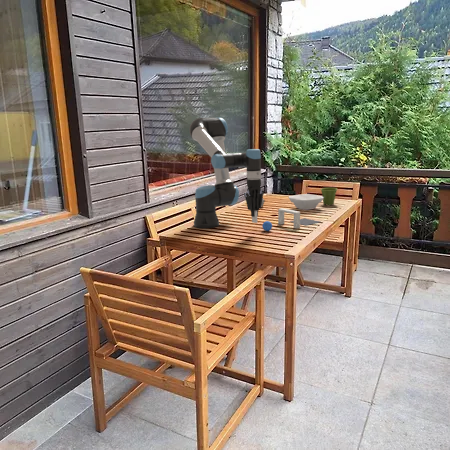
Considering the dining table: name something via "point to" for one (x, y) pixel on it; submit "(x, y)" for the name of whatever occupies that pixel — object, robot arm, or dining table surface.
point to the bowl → (306, 201)
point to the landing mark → (307, 221)
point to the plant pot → (328, 195)
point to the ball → (267, 225)
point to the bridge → (296, 213)
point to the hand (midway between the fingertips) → (254, 222)
